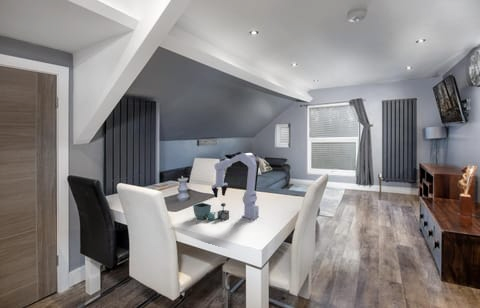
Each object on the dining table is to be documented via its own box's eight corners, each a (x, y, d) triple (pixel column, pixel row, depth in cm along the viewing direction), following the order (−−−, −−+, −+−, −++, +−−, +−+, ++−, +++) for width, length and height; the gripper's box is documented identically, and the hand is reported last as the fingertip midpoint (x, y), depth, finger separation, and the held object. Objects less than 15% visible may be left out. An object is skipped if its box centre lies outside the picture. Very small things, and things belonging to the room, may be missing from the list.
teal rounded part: (216, 219, 158) (216, 213, 157) (211, 221, 154) (211, 214, 154) (211, 218, 160) (211, 211, 160) (206, 219, 157) (206, 213, 156)
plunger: (226, 212, 161) (226, 203, 160) (223, 213, 159) (223, 204, 158) (223, 211, 163) (223, 203, 162) (220, 212, 160) (220, 203, 160)
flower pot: (202, 215, 166) (202, 202, 166) (211, 217, 161) (211, 204, 160) (192, 218, 160) (192, 205, 159) (201, 221, 154) (201, 207, 153)
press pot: (232, 217, 163) (232, 210, 163) (223, 220, 156) (223, 214, 155) (224, 214, 168) (224, 208, 167) (215, 218, 160) (215, 211, 160)
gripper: (223, 176, 186) (223, 193, 187) (208, 179, 176) (208, 197, 177) (229, 177, 182) (229, 195, 183) (215, 180, 171) (215, 198, 172)
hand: (219, 196), depth 179 cm, fingers open, 7 cm apart
